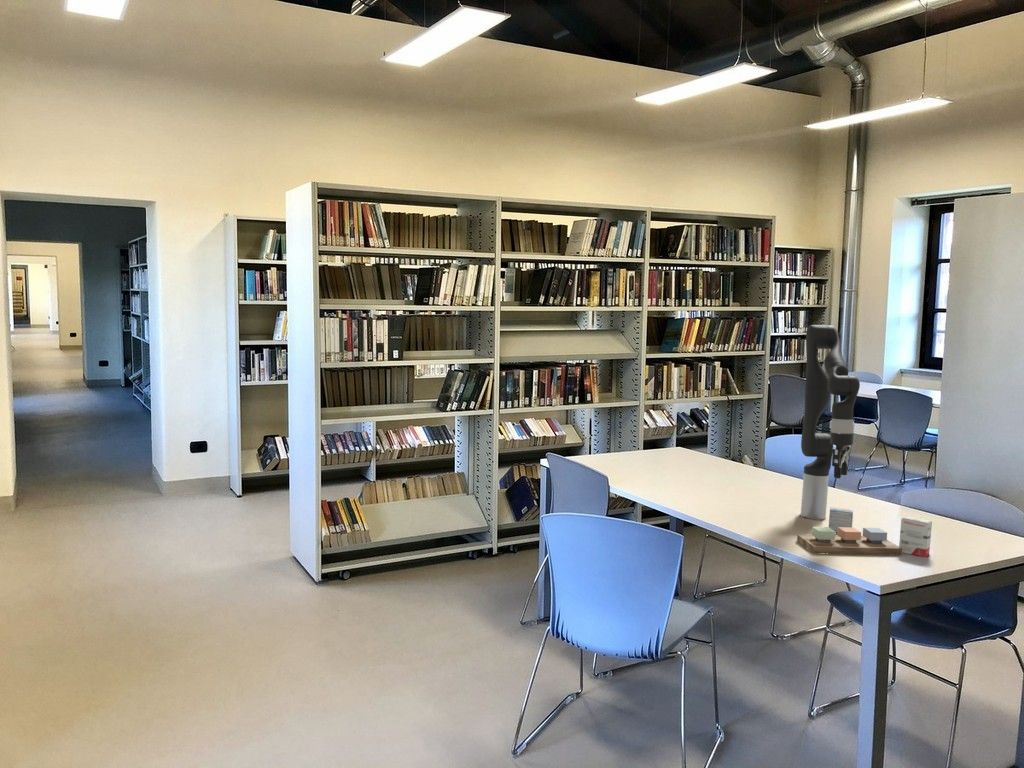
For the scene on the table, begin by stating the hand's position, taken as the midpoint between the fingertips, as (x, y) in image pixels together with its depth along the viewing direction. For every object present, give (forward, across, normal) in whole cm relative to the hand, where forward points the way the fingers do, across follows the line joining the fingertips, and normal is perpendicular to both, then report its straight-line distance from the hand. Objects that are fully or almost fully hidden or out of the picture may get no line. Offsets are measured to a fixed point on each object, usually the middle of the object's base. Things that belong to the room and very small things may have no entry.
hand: (840, 476), depth 283 cm
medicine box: (+22, -7, -1) cm, 23 cm away
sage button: (+19, +17, -1) cm, 25 cm away
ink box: (+24, +1, +25) cm, 34 cm away
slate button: (+19, +6, +13) cm, 24 cm away
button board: (+23, +11, +6) cm, 26 cm away
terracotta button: (+19, +12, +6) cm, 23 cm away
